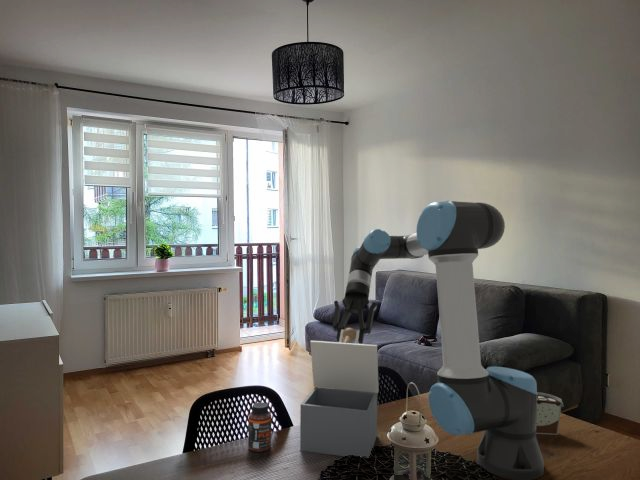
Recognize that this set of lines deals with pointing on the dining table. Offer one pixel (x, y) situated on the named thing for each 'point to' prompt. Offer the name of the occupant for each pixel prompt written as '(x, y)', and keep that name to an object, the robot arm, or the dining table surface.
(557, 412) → the food container
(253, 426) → the supplement bottle
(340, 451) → the grey box
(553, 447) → the dining table surface
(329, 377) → the lid
